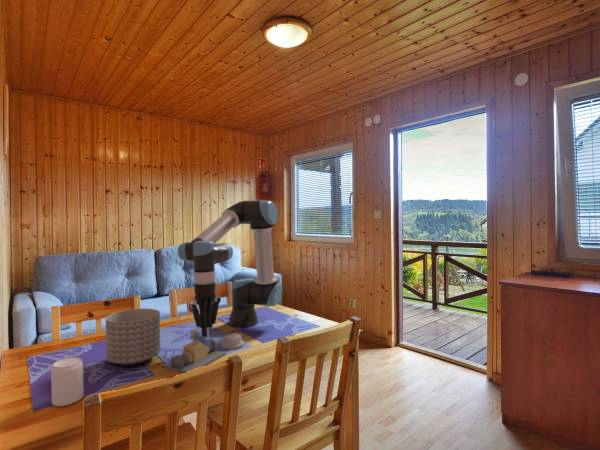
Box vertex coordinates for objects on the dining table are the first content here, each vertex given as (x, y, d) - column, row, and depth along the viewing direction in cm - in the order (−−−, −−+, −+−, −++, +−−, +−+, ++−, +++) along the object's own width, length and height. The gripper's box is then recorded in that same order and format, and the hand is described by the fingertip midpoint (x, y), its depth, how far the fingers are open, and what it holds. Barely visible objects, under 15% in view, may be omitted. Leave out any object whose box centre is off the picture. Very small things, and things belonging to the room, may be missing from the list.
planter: (105, 376, 123) (104, 325, 123) (106, 356, 140) (106, 312, 140) (162, 365, 132) (162, 318, 132) (157, 348, 149) (157, 306, 148)
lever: (189, 337, 137) (189, 330, 137) (197, 335, 139) (197, 329, 139) (204, 347, 126) (204, 340, 126) (212, 344, 128) (212, 338, 128)
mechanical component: (217, 349, 149) (239, 351, 147) (217, 338, 149) (239, 340, 147) (226, 340, 159) (247, 342, 157) (226, 331, 159) (247, 332, 157)
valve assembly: (199, 348, 149) (199, 327, 149) (225, 354, 143) (225, 332, 143) (162, 366, 131) (161, 343, 131) (190, 374, 125) (190, 349, 125)
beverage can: (61, 394, 111) (61, 357, 110) (88, 393, 111) (88, 356, 111) (45, 408, 103) (44, 368, 102) (74, 407, 103) (73, 367, 103)
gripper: (212, 278, 138) (214, 337, 139) (184, 284, 128) (186, 346, 130) (224, 280, 133) (226, 341, 134) (195, 286, 124) (198, 352, 125)
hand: (206, 344), depth 132 cm, fingers closed
